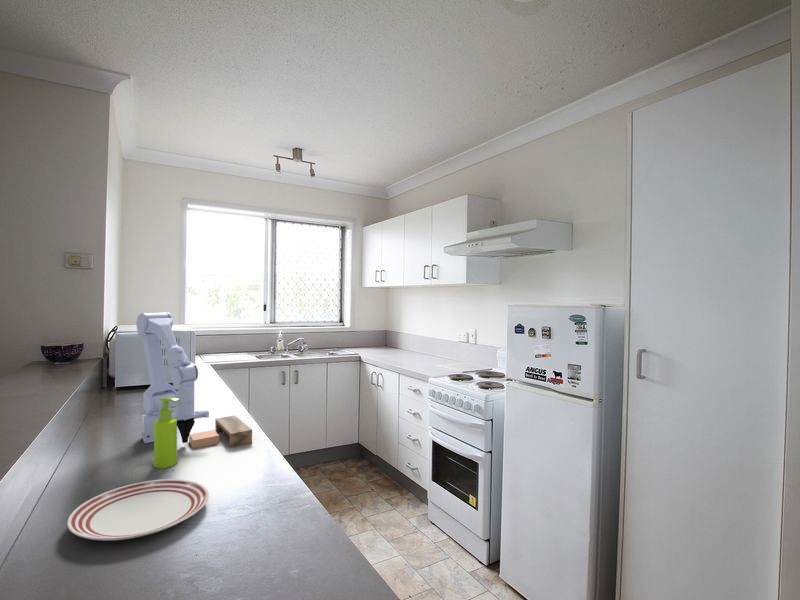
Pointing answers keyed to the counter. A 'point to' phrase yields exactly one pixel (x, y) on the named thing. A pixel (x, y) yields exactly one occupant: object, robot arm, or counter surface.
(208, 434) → the peach rectangular block
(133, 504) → the dinner plate
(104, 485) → the counter surface
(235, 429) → the wooden bridge block
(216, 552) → the counter surface
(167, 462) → the soap dispenser
